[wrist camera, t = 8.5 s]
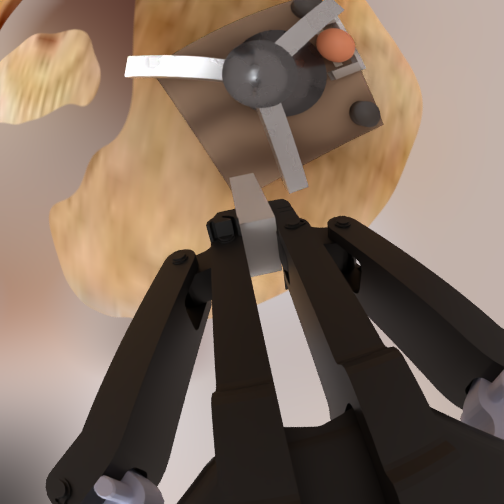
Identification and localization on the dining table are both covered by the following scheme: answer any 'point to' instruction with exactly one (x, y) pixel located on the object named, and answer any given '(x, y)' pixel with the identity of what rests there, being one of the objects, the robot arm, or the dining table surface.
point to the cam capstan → (262, 80)
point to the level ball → (335, 45)
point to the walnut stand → (248, 121)
